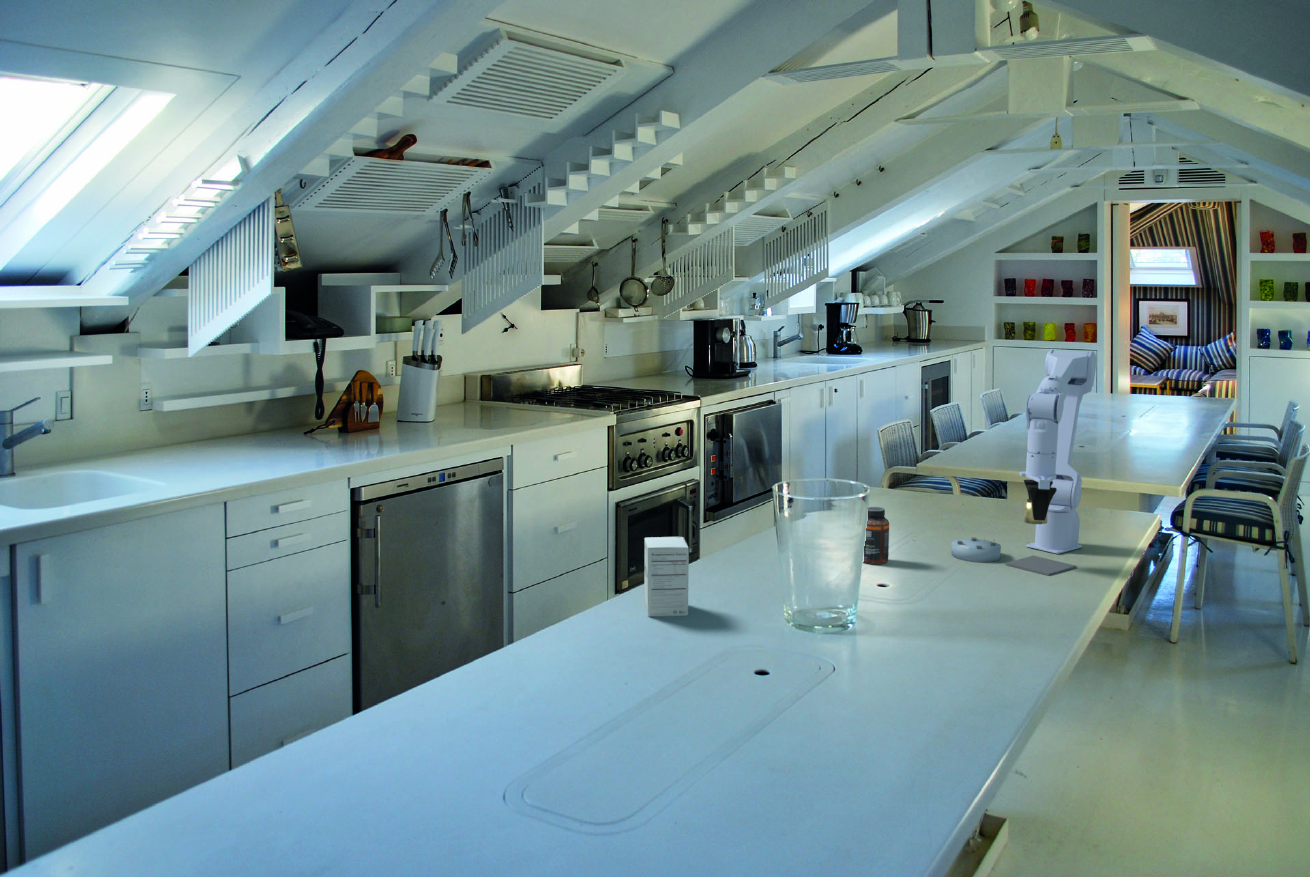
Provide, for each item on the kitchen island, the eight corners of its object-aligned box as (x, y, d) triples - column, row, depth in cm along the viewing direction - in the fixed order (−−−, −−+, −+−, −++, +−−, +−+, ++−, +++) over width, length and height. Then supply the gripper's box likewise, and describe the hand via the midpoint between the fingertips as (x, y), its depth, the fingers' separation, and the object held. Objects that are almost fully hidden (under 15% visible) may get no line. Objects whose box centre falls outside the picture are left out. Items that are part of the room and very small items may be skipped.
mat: (1033, 557, 225) (1033, 555, 225) (1076, 567, 218) (1076, 565, 217) (1005, 564, 219) (1005, 562, 219) (1048, 575, 212) (1048, 573, 212)
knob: (1046, 519, 219) (1047, 498, 219) (1047, 524, 215) (1048, 502, 214) (1023, 518, 221) (1024, 497, 220) (1024, 523, 216) (1024, 501, 216)
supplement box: (643, 604, 192) (643, 536, 190) (684, 603, 193) (684, 535, 191) (646, 617, 185) (646, 547, 183) (688, 616, 186) (689, 546, 184)
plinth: (970, 547, 233) (971, 533, 233) (1009, 557, 225) (1010, 543, 225) (941, 554, 227) (942, 540, 227) (981, 564, 219) (981, 550, 219)
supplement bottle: (886, 558, 224) (888, 505, 223) (889, 565, 218) (892, 512, 217) (857, 557, 225) (859, 505, 223) (860, 564, 219) (862, 511, 217)
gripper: (1017, 445, 223) (1014, 508, 225) (1024, 456, 209) (1020, 523, 212) (1053, 447, 222) (1049, 510, 224) (1062, 458, 208) (1058, 526, 210)
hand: (1037, 517), depth 218 cm, fingers closed on knob, 4 cm apart
